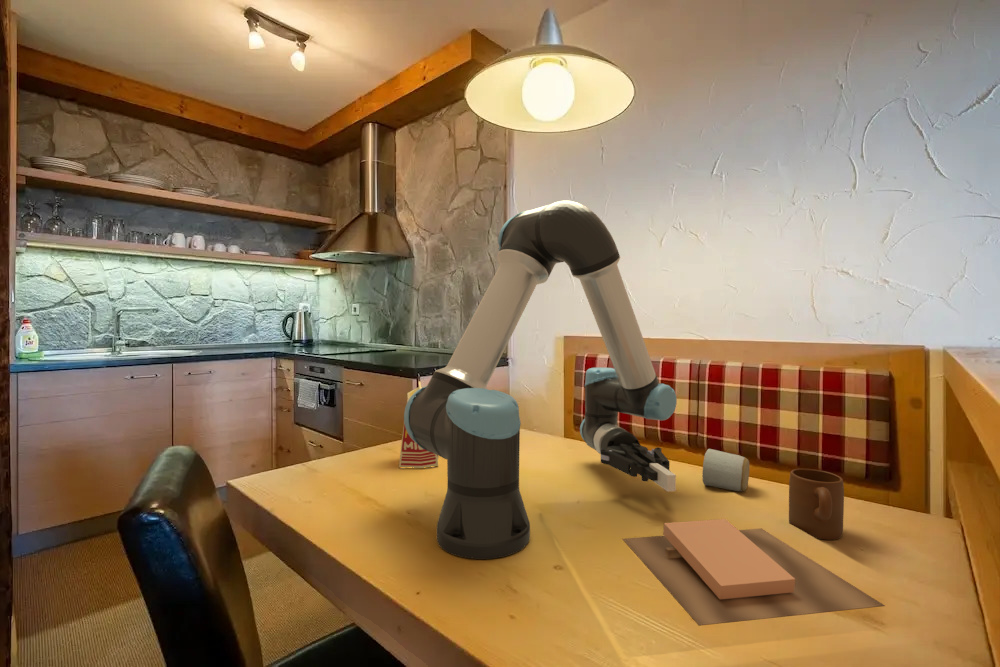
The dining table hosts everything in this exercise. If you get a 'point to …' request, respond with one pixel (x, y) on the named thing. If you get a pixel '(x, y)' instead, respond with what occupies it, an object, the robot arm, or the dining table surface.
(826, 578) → the board
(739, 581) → the tile
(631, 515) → the dining table surface
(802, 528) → the mug
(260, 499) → the dining table surface
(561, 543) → the dining table surface
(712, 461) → the ceramic mug
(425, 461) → the milk carton
